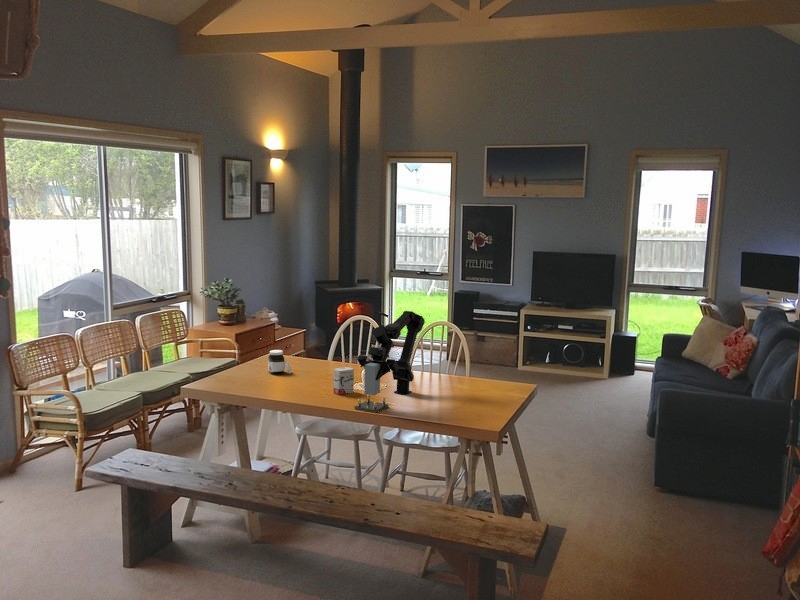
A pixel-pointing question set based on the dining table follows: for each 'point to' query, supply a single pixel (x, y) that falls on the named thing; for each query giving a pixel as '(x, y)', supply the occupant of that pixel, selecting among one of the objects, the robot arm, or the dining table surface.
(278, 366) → the spread jar
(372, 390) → the post
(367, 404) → the base plate
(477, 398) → the dining table surface
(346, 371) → the ink box
